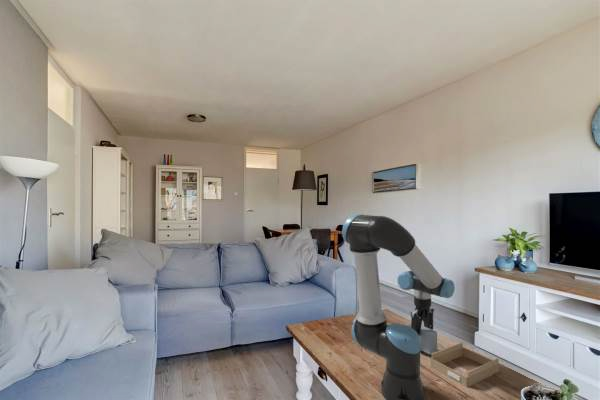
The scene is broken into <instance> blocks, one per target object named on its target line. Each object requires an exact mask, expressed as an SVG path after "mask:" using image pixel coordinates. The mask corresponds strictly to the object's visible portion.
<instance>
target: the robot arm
mask: <svg viewBox="0 0 600 400" xmlns="http://www.w3.org/2000/svg"><path fill="white" fill-rule="evenodd" d="M341 231H342V232H341V236H342V238H343V241H345V243H347V244H348V245H349V251H350V252H351V253H352V254H353V256H354V265H355V275H356V276H355V278H356V286H357V288H356V289H357V298H358V310H359V311H358V313H357V314H356V317H355V318H354V319H353V321H352V323H353V324H352V325H351V336H352V338H353V340H354V342H355V343H356V344H357V345H358V346H360V347H361V348H362V349H364V350H367V351H369V352H371V353H373V354H375V355H377V356H379V357H381V358H383V359H385V371H384V374H383V377H382V380H381V382H380V383H381V384H380V393H381V396H383V397H384V399H385V400H426V390H425V388H424V386H423V382H422V379H421V378H422V377H421V351H422V350H421V335H420V331H421V325H422V324H423V325H422V326H425V327H427V328H429V329H432V330H434V311H435V309H434V308H432V295H433V296H436V297H439V298H446V299H450V298H452V297H453V295H454V293H455V288H456V287H455V283H454V281H453V280H452V279H448V278H446V277H445V278H444V277H442V275H441V274H440V273H439V271H438V270H437V269H436V268H435V267H434V265H433V263H431V261H430V260H429V259H428V258H427V256H426V255H425V254H424V253H423V252H422V251H421V249H420V248H419V247H418V246H417V244H416V239H415V238H414V236H413V235H412V234H411V232H409V231H408V230H407V229H406V228H405V227H404V226H403V225H402V224H400V223H399V222H398V221H396V220H395V219H393V218H390V217H388V216H386V215H385V216H384V215H370V214H369V215H368V214H353V215H350V216H349V217H348V218H347V219H346V220H345V221H344V223H343V225H342V230H341ZM381 249H383V250H385V251H389V252H390V253H391V254H392V255H393V256H394V257H397V258H399V259H400V260H401V261H402V262H403V263H404V264H405V266H407V267H408V269H409V271H404V272H401V273H399V274H398V276H397V285H398V286H399V288H400V289H401V290H403V291H409V290H413V305H414V307H415V309H414V311H411V312H410V317H411V323H410V324H411V327H409V326H408V325H406V324H401V323H397V322H393V323H389V324H387V315H386V314H385V312H383V311H382V298H381V288H380V277H379V275H380V274H379V263H378V253H379V252H380V250H381Z"/></svg>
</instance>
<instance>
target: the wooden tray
mask: <svg viewBox="0 0 600 400" xmlns="http://www.w3.org/2000/svg"><path fill="white" fill-rule="evenodd" d="M463 345H464V344H463V342H460V343H458V344H454V345H452V346H449V347H446V348H444V349H441V350H437V352H435V353H432V354H431V358H430V369H432V370H434V371H436V372H439V373H440V374H442V375H444V376H445V377H447V378H449V379H451V380H453V381H455V382H457V383H459V384H460V385H462V386H464V387H466V388H469V387H470V386H473V385H475V384H477V383H478V382H481V381H484V380H485V379H487V378H489V377H491V376H494V375H495V373H496V374H498V373H500V363H499V360H500V359H499V358H496V359H491V358H489V357H486V356H484V355H482V354H480V353H477V352H475V351H473V350H470V349H468V348H466V347H464V346H463ZM458 357H459V358H461V357H464V358H466V359H468V358H469V359H468V360H471V361H473V360H474V361H473V362H475V361H476V362H475V363H477V362H478V364H480V365H479V366H478V367H475V368H473V369H471V370H468V371H467V372H466V376H465V375H464V374H462V373H460V372H458V371H456V370H455V369H452V368H451V367H448V366H447V365H445V364H446V363H449V362H450V361H453V359H454V360H455V358H456V359H458ZM448 361H449V362H448ZM482 364H483V365H482ZM497 372H498V373H497ZM493 374H494V375H493Z"/></svg>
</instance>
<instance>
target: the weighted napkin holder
mask: <svg viewBox="0 0 600 400" xmlns="http://www.w3.org/2000/svg"><path fill="white" fill-rule="evenodd" d="M407 326H409V327H411V323H409V324H407ZM420 335H421V350H420V351H422V352H424V353H425V354H428V355H432V353H435V352H438V331H436V330H434V329H433V330H432V329H429V328H427V327H425V326H424V325H421V331H420Z"/></svg>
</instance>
